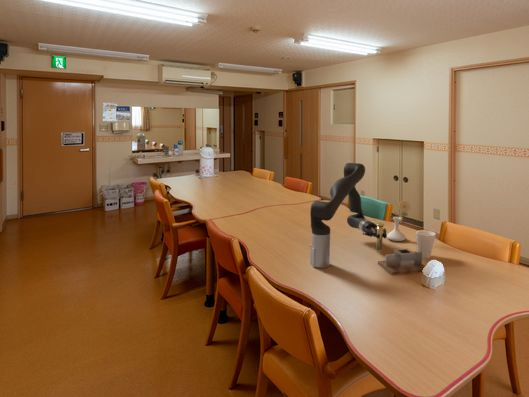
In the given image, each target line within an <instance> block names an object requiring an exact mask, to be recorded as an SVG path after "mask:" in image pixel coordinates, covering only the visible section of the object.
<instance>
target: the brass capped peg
mask: <svg viewBox="0 0 529 397" xmlns="http://www.w3.org/2000/svg"><path fill="white" fill-rule="evenodd" d="M376 225H377V233H378V234H380V239H378V238H376V240H375V241H376V242H375V243H376V244H375V245H376V246H375V250H376V251H382V250H383V242H384V241H383V240H384V238H383V229H384V227H385V223H382V222H377V223H376Z"/></svg>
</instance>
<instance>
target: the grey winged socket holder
mask: <svg viewBox="0 0 529 397" xmlns="http://www.w3.org/2000/svg"><path fill="white" fill-rule="evenodd" d="M422 260H423V258H422V252H417V251H414V252H413V251H412V250H410V249H408V248H400V249H393V253H392V254H391V253H390V254H389V253H388V254H387V253H386V254H385V260H384V261H385V266H386V267H388V266H398V267H400V268H408V267H414V264H421V263H422V264H423V262H422Z"/></svg>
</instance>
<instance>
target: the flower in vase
mask: <svg viewBox="0 0 529 397" xmlns="http://www.w3.org/2000/svg"><path fill="white" fill-rule="evenodd" d="M398 209H399V210H400V214H397V213H395V212H393V214H394V215H395V216H393V217H392V219H393V222H394V229H393V230H391V231H390V232H388V233H386V234H387V237H386V239H387V240H390V241H394V242H402V241H405V240H406V239H407V236H406V235H405V234H404V233H403V232H402V231H400V229H399V226H400V222H401V220H402V217H400V216H401V215H402V216H403V217H407V216H408V215H409V213H408V212H410V211H411V209H412V206H411V203H410V202H409V201H408V200H406V199H405V200H404V199H402V200H401V201H399V203H398Z"/></svg>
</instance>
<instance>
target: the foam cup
mask: <svg viewBox="0 0 529 397" xmlns="http://www.w3.org/2000/svg"><path fill="white" fill-rule="evenodd" d="M415 232H416V233H415V237H416V248H417V249H416V252H422V259H429V258H431V256H432V252H433V248H434V244H435V240H436V236H437V235H436V233H435V232H434V231H431V230H423V229H422V230H416V231H415Z"/></svg>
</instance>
